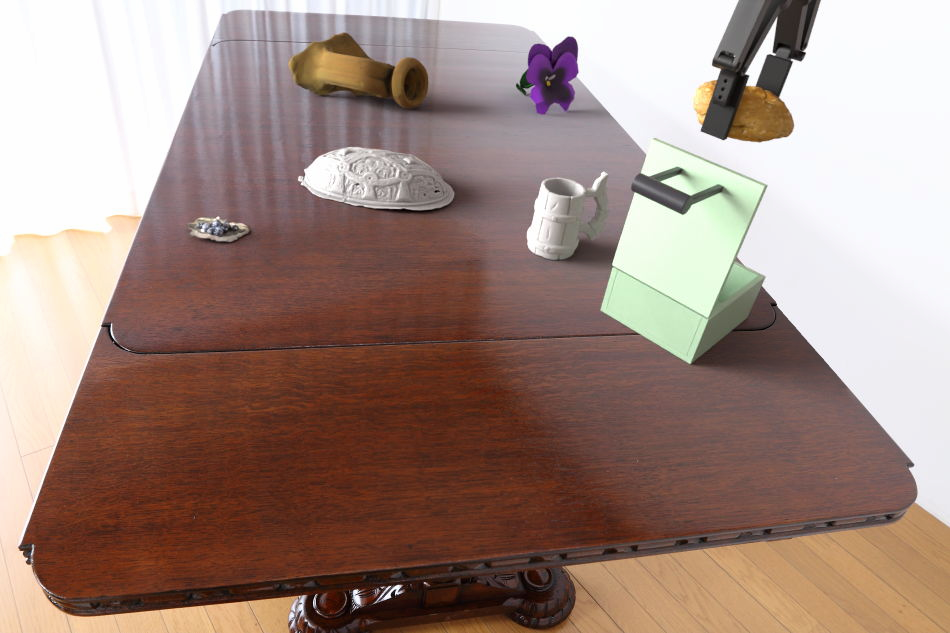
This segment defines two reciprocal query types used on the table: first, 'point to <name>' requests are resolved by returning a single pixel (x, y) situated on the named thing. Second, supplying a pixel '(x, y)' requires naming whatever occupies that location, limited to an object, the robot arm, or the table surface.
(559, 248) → the mug
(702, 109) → the bagel
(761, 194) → the lunchbox lid
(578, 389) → the table surface
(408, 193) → the ornate oval dome
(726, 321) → the box
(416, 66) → the brown looped sculpture
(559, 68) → the flower
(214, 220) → the blueberries
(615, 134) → the table surface
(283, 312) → the table surface
